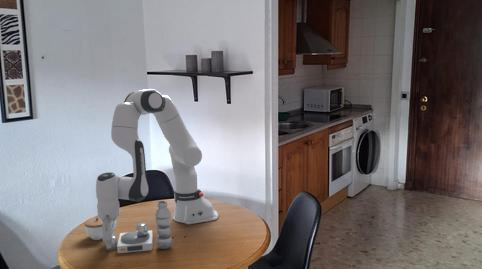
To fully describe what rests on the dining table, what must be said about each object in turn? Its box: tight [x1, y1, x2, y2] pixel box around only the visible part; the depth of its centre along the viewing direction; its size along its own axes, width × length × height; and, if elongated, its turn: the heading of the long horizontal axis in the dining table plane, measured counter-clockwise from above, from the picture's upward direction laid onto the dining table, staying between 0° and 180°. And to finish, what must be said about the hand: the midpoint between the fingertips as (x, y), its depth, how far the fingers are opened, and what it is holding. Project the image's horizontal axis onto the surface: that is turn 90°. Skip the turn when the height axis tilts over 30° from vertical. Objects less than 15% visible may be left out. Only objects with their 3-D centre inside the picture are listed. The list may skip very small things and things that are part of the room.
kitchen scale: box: [116, 230, 154, 254], centre depth 182 cm, size 14×14×4 cm
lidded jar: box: [84, 216, 103, 241], centre depth 190 cm, size 11×11×9 cm
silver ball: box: [135, 222, 149, 238], centre depth 182 cm, size 5×5×5 cm
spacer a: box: [104, 234, 118, 251], centre depth 179 cm, size 5×5×5 cm
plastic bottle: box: [154, 200, 173, 250], centre depth 177 cm, size 6×7×20 cm
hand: (110, 243), depth 179 cm, fingers open, 8 cm apart
